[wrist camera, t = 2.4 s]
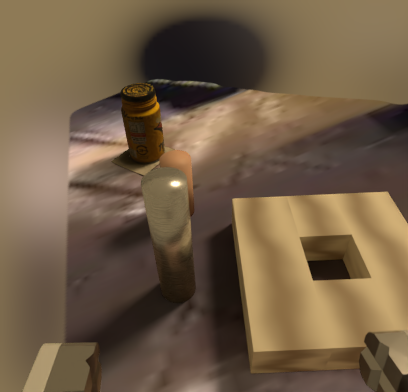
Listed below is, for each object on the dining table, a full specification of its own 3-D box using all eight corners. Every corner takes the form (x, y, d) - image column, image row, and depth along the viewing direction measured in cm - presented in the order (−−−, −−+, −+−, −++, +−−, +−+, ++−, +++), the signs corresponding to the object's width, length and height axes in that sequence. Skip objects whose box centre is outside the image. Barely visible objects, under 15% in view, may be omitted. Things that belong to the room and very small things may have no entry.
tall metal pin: (179, 268, 44) (165, 161, 33) (202, 286, 42) (196, 179, 31) (154, 288, 42) (131, 182, 31) (177, 309, 40) (162, 202, 29)
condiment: (175, 150, 63) (169, 85, 55) (144, 176, 58) (132, 108, 50) (143, 139, 66) (132, 76, 58) (111, 163, 61) (94, 97, 53)
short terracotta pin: (180, 197, 54) (175, 146, 48) (200, 209, 52) (197, 158, 46) (160, 211, 52) (152, 160, 46) (180, 224, 49) (174, 172, 43)
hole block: (377, 216, 49) (387, 191, 46) (459, 363, 34) (482, 341, 31) (231, 223, 49) (232, 198, 46) (250, 373, 34) (253, 351, 31)
